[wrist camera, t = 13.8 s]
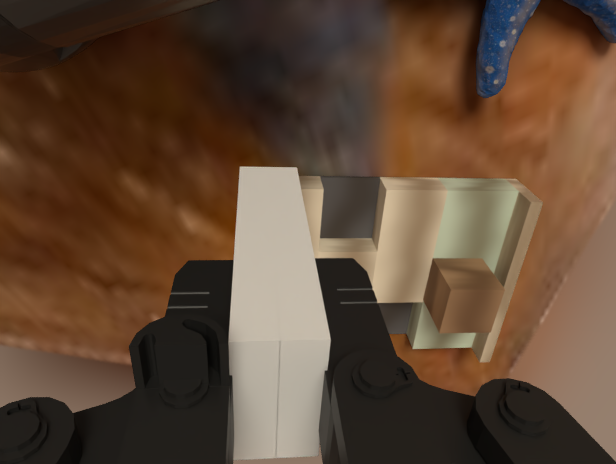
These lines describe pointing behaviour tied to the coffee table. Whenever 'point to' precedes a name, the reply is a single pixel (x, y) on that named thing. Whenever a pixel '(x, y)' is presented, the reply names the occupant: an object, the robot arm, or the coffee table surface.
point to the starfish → (509, 25)
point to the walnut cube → (462, 295)
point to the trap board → (422, 240)
